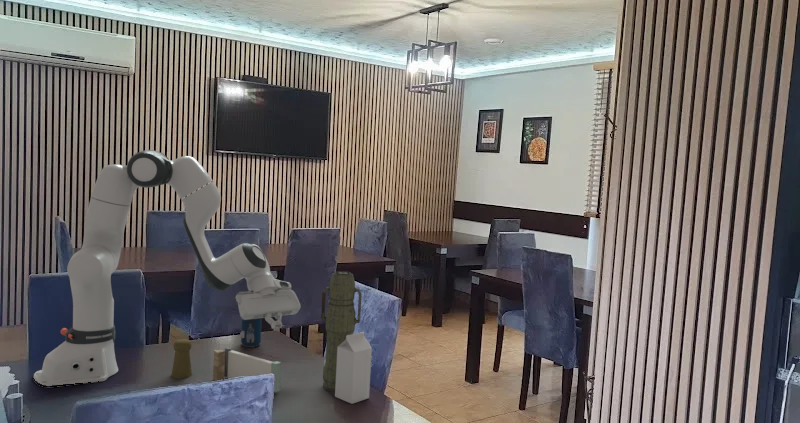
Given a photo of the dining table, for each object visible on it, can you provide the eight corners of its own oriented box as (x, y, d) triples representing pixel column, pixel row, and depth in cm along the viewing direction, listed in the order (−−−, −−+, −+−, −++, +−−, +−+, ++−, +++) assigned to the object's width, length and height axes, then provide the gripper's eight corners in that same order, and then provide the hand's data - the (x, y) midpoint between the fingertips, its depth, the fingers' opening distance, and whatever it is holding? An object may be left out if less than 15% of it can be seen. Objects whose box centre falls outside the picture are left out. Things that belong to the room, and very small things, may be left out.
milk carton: (369, 398, 182) (372, 334, 180) (351, 404, 176) (355, 338, 175) (352, 391, 186) (355, 329, 185) (334, 397, 181) (337, 333, 179)
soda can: (255, 341, 232) (256, 309, 231) (264, 345, 226) (265, 313, 225) (237, 343, 227) (238, 311, 226) (246, 348, 222) (247, 315, 221)
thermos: (317, 380, 194) (323, 269, 191) (355, 381, 195) (361, 270, 192) (317, 391, 185) (322, 274, 182) (357, 391, 186) (363, 275, 184)
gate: (222, 376, 191) (223, 348, 190) (227, 374, 193) (228, 347, 192) (274, 392, 180) (276, 363, 179) (279, 390, 182) (281, 361, 181)
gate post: (216, 381, 188) (217, 352, 187) (212, 379, 190) (214, 350, 189) (223, 380, 189) (225, 351, 189) (220, 378, 191) (221, 349, 190)
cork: (185, 379, 188) (186, 343, 188) (167, 376, 190) (168, 341, 189) (195, 373, 194) (196, 338, 194) (178, 370, 196) (179, 336, 195)
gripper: (237, 286, 192) (251, 325, 185) (294, 282, 206) (309, 318, 199) (230, 298, 195) (243, 336, 189) (286, 293, 209) (300, 328, 203)
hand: (277, 327), depth 194 cm, fingers closed
